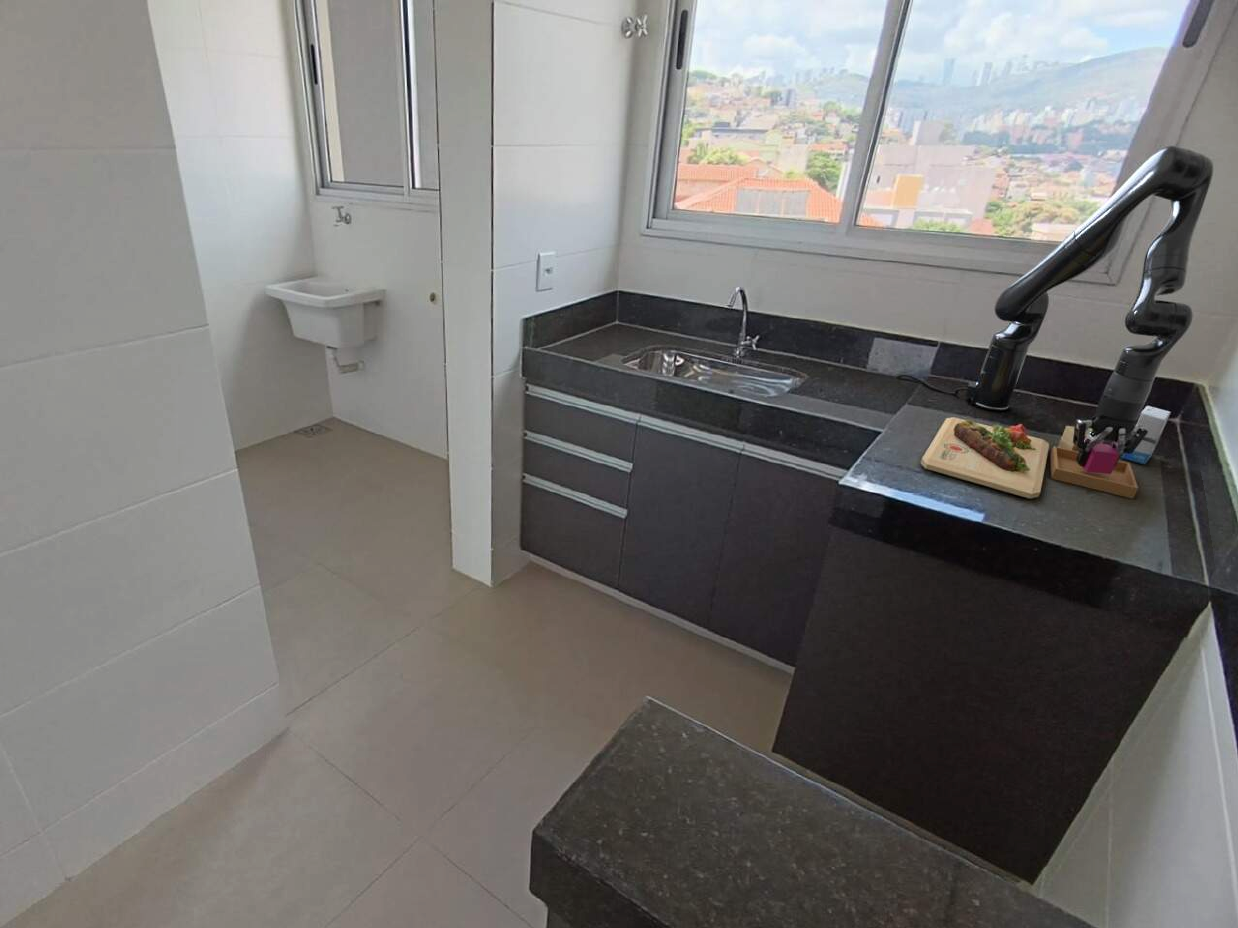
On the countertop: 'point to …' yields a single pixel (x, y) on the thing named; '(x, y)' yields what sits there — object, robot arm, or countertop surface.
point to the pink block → (1101, 459)
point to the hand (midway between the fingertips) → (1093, 466)
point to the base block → (1071, 439)
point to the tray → (1092, 474)
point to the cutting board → (989, 456)
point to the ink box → (1154, 425)
